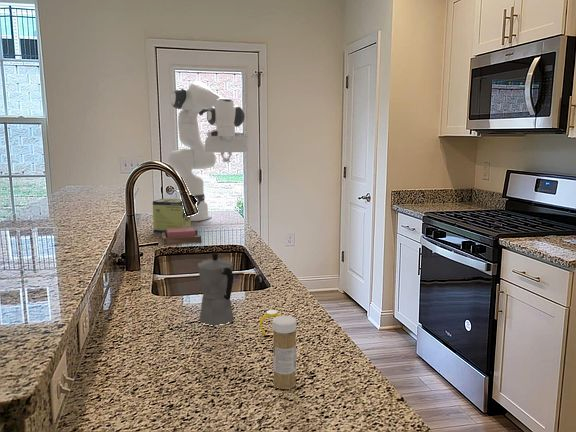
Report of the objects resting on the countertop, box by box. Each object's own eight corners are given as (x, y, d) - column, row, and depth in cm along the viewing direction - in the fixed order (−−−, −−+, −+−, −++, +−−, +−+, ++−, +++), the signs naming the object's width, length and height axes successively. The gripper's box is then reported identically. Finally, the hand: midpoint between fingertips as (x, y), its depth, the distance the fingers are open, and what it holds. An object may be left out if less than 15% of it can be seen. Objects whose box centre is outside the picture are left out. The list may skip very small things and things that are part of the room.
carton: (166, 239, 218) (166, 228, 217) (193, 237, 222) (192, 226, 221) (168, 243, 210) (167, 232, 209) (195, 241, 213) (195, 230, 213)
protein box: (183, 234, 228) (181, 202, 225) (153, 232, 231) (151, 201, 228) (191, 229, 238) (190, 199, 235) (163, 228, 241) (161, 198, 238)
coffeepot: (189, 316, 126) (187, 250, 123) (221, 308, 131) (219, 245, 128) (215, 336, 113) (213, 263, 110) (249, 327, 119) (248, 257, 116)
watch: (261, 339, 113) (259, 315, 111) (260, 334, 115) (258, 311, 114) (286, 335, 114) (284, 312, 112) (284, 331, 116) (282, 308, 115)
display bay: (162, 237, 221) (162, 231, 220) (197, 234, 226) (197, 229, 225) (164, 244, 206) (163, 238, 206) (201, 241, 211) (201, 236, 211)
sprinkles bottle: (278, 377, 94) (278, 313, 92) (299, 381, 93) (300, 316, 90) (269, 388, 90) (268, 321, 88) (291, 393, 89) (291, 325, 86)
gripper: (245, 132, 232) (246, 161, 234) (203, 132, 226) (204, 161, 228) (248, 132, 226) (248, 161, 228) (205, 132, 220) (206, 162, 222)
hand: (226, 161), depth 228 cm, fingers closed
